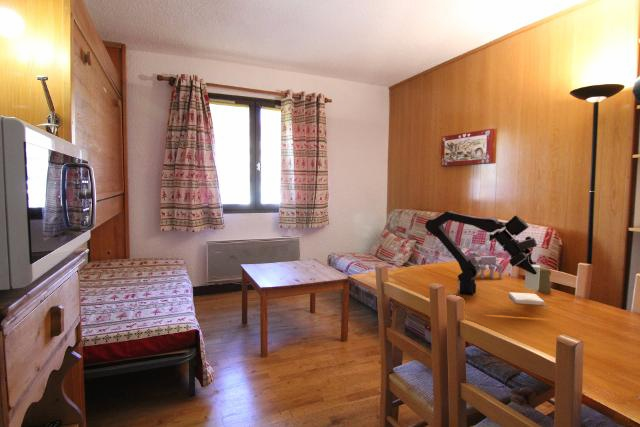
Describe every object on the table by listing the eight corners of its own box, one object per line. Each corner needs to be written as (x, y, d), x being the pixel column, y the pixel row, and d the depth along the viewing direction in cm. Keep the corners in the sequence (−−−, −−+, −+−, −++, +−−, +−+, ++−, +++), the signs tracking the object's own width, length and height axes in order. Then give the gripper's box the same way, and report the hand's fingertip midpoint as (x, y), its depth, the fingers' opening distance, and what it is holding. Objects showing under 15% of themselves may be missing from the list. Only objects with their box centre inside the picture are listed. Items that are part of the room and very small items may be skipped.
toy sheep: (467, 279, 180) (467, 253, 180) (457, 275, 191) (457, 250, 191) (504, 278, 182) (504, 252, 181) (493, 274, 192) (493, 249, 192)
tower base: (514, 307, 142) (514, 303, 142) (506, 298, 153) (506, 294, 153) (547, 309, 139) (547, 305, 139) (536, 299, 151) (536, 296, 150)
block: (524, 288, 143) (525, 265, 142) (526, 286, 146) (527, 263, 145) (537, 290, 140) (538, 267, 139) (538, 288, 143) (540, 265, 142)
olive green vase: (553, 294, 155) (554, 270, 154) (538, 293, 156) (539, 269, 156) (547, 290, 161) (548, 267, 160) (533, 289, 162) (534, 266, 161)
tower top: (516, 303, 142) (516, 299, 142) (509, 295, 152) (509, 292, 152) (543, 304, 140) (544, 301, 140) (534, 297, 150) (534, 293, 149)
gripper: (520, 233, 136) (552, 265, 130) (527, 228, 150) (556, 257, 145) (497, 250, 141) (526, 282, 136) (505, 244, 156) (532, 272, 150)
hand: (536, 272), depth 141 cm, fingers closed on block, 4 cm apart
